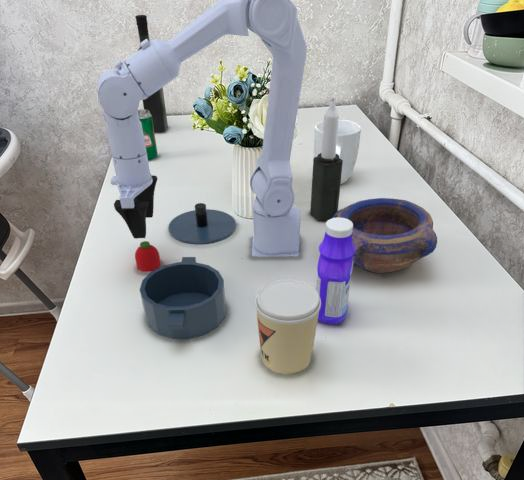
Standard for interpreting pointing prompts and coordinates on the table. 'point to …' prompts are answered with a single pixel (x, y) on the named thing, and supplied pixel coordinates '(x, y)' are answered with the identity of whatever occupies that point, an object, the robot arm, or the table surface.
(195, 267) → the pot
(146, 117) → the soda can
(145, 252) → the strawberry
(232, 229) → the lid
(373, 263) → the bowl
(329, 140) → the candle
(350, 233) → the bottle
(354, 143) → the mug
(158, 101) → the wine bottle
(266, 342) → the coffee cup
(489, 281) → the table surface
